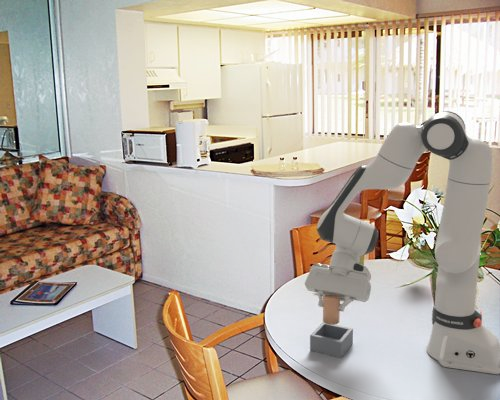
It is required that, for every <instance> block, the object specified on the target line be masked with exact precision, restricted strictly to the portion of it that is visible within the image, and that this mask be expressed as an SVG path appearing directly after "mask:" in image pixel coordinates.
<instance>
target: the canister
mask: <svg viewBox="0 0 500 400" xmlns="http://www.w3.org/2000/svg"><path fill="white" fill-rule="evenodd" d="M322 299H323V307H322V323H323V322H324V323H326V324H329V325H337V324H339V323H340V313H341V311H339V310H338V307H339V304H341V297H338V296H336V295H326V294H325V295H324V297H322Z"/></svg>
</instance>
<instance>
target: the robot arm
mask: <svg viewBox="0 0 500 400" xmlns="http://www.w3.org/2000/svg"><path fill="white" fill-rule="evenodd" d="M427 151H428V152H430V153H431V154H434V155H435V156H439V157H442V158H443V159H445V160H448V161H449V165H448V166H449V167H448V168H449V169H448V175H447V182H446V187H445V188H446V189H445V194H444V200H443V201H444V203H443V207H442V212H441V216H440V221H439V226H438V231H437V234H436V235H437V236H436V242H435V248H434V257H435V261H436V263H437V265H438V267H437V273H436V280H435V282H436V290H435V293H434V294H435V297H434V304H433V307H432V313H431V316H432V317H431V321H432V323H431V324H432V328H431V333H430V336H429V341H428V343H427V346H426V352H427V354H428V355H429V356H431V357H432V358H433V359H435V360H436V361H438V363H439V364H440V365H441V366H442V367H444V368H450V369H456V370H464V371H471V372H476V373H477V372H478V373H484V374H492V375H499V374H500V340H499V338H498V336H497V335H496V334H495V333H494V332H493V331H491V330H490V329H489V328H488V327H487V326H485V325H484V324H483V322H482V321H483V316H482V315H483V314H482V311H479V312H478V311H477V310H476V298H477V297H476V296H477V286H478V277H479V266H480V259H481V258H480V257H481V249H482V237H481V236H482V232H483V225H484V221H485V216H486V210H487V205H488V199H489V193H490V188H491V187H490V186H491V180H492V170H493V154H492V153H493V152H492V148H491V146H489V144H488V143H486V142H484V141H482V140H481V139H480V140H479V139H472V138H471V137H469V136H468V135H467V131H466V124H465V121H464V119H463V118H462V117H461V116H460V115H459V114H457V113H456V112H453V111H449V110H446V111H440V112H437V113H435V114H433V115H431V116H430V117H429V118H428V119H426V120H425V121H424V122H422V123H421V124H420V125H416V124H414V123H411V122H400V123H397V124H396V125H395V126H394V127H393V128H392V129H391V131H389V133H388V135H387V136H386V137H385V139H384V140H383V142H382V144H381V146H380V148H379V150H378V153H377V154H376V156H375V157H374V158H373V159H372V160H371V161H370V162H369V163H367V164H364V165H360V166H358V167H357V169H356V170H355V171H354V172H353V173H352V174H351V175H350V177H349V179H348V180H347V181H346V183H345V184H344V186H343V187H342V188H341V190H340V191H339V193H338V194H337V195H336V197H335V198H334V200H333V201H332V203H331V204H330V205H329V206H328V208H327V209H326V210H325V211H324V212H323V213H322V215H321V216H320V217H319V219H318V222H317V225H316V231H317V234H318V236H319V237H320V238H321V240H322V241H325V242H328V243H331V244H335V249H334V251H333V252H332V253H331V254H332V255H331V258H330V261H329V264H324V263H323V264H321V263H315V264H313V265H312V266H311V265H310V269H309V271H308V275H307V277H306V279H305V281H304V286H305V288H306V290H307V291H309V292H313V293H317V295H318V299H319V301H318V303H317V305H318V307H320V308H323V297H324V296H325V295H326V294H327V295H336V296H338V297H340V298H342V299H344V301H343V302H342V303H340V304H339V307H338V310H339V311H340V312H343V313H344V311H345V309H346V307H347V306H348V305H349V304H350V303H351V302H352V301H353V300H354V301H357V302H362V303H366V302H367V301H369V299H370V295H371V290H372V289H371V288H372V284H371V282H370V281H371V280H372V274H371V271H370V270H369V268H368V267H367V266H365V264H364V265H362V264H360V263H359V259H360V256H361V255H364V256H366V255H368V254H370V253H372V252H374V250H375V249H376V245H377V242H378V239H379V232H378V229H377V228H376V226H375V225H373V224H372V223H370V222H367V221H366V220H365V221H364V219H363V220H362V219H359V218H357V217H354V216H351V215H349V214H346V213H345V210H346V209H347V207H348V206H349V204H351V202H352V201H353V199H354V198H355V196H356V195H358V193H360V192H362V191H367V190H393V189H396V188H400V187H401V186H403V185H404V184H406V182H407V181H408V180H409V178H410V176H411V175H412V173H413V171H414V169H415V167H416V165H417V163H418V161H419V160H420V158H421V156H422V155H423V154H424V153H425V152H427Z"/></svg>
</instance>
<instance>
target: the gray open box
mask: <svg viewBox="0 0 500 400" xmlns="http://www.w3.org/2000/svg"><path fill="white" fill-rule="evenodd" d="M353 341H354V328H353V327H352V328H351V327H348V326H343V325H337V324H335V325H329V324H326V323H324V322H323V321H322V322H321V323H320V325H318V326H317V327H316V328H315V329H314V330H313V332H311V334H310V335H309V350H310V351H312V352H316V353H320V354H325V355H328V356H332V357H336V358H340V359H341V358H342V357H344V355H345V354H346V352H347V351H348V350H349V349H350V348H351V346H352V345H353V343H354V342H353Z"/></svg>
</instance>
